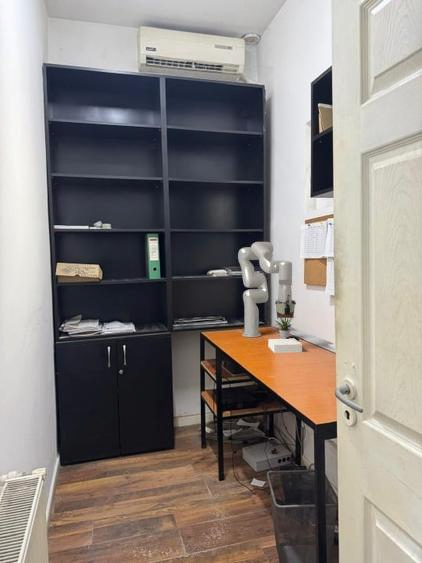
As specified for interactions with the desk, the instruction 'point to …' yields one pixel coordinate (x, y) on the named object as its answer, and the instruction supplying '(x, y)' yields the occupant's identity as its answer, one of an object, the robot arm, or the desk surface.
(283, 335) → the house plant
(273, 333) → the desk surface
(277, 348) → the base block
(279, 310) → the food container
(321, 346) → the desk surface
